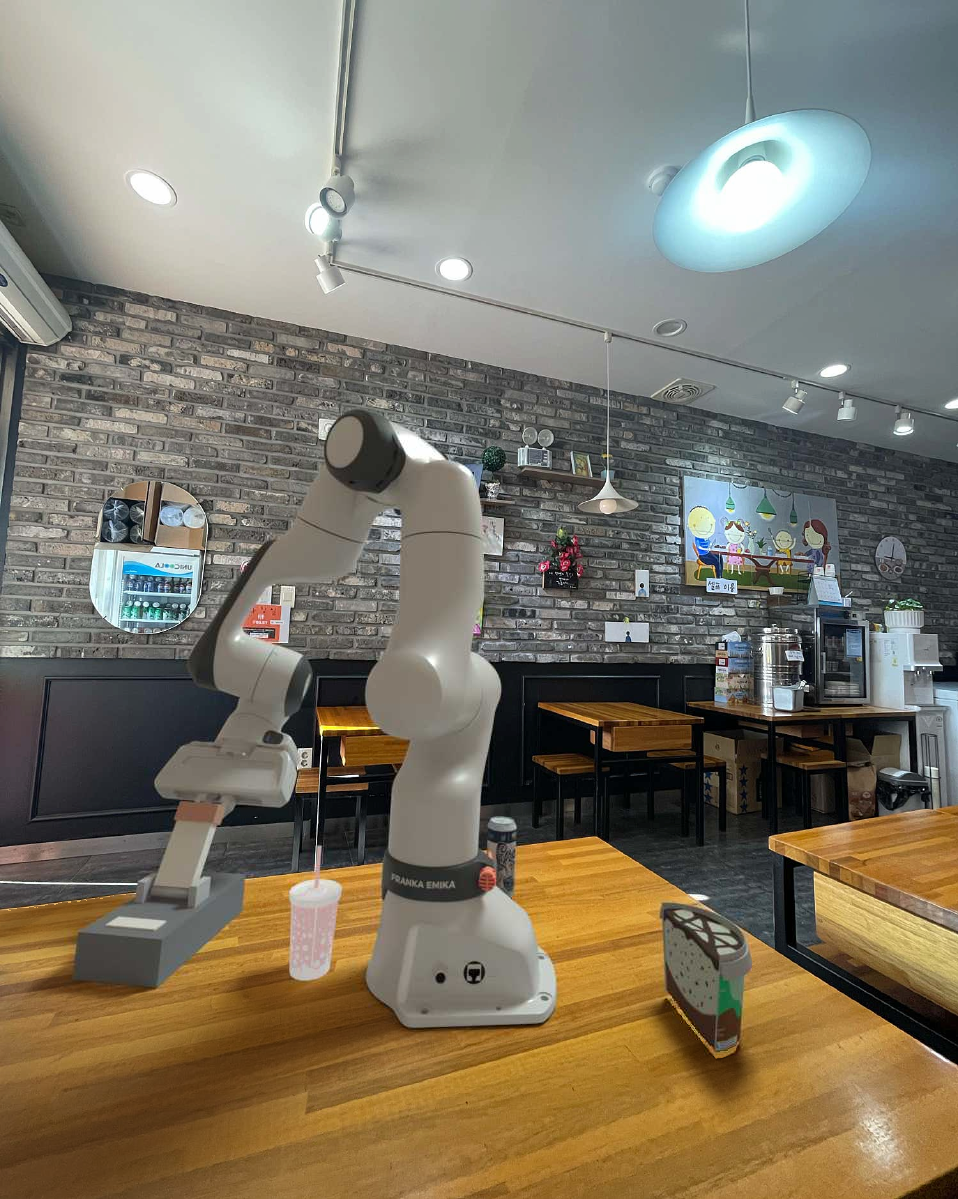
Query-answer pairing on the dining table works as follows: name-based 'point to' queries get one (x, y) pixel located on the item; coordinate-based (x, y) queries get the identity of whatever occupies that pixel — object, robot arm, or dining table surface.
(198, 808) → the lever
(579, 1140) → the dining table surface
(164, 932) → the switch panel
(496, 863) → the beer can
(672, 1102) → the dining table surface
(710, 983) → the food container
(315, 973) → the beverage cup
